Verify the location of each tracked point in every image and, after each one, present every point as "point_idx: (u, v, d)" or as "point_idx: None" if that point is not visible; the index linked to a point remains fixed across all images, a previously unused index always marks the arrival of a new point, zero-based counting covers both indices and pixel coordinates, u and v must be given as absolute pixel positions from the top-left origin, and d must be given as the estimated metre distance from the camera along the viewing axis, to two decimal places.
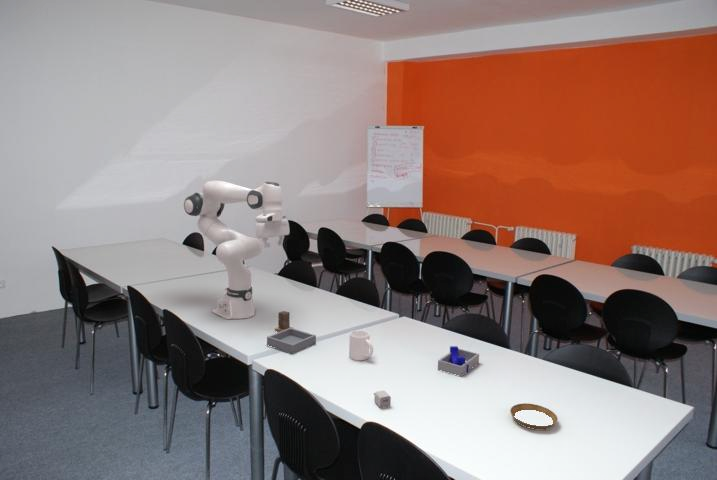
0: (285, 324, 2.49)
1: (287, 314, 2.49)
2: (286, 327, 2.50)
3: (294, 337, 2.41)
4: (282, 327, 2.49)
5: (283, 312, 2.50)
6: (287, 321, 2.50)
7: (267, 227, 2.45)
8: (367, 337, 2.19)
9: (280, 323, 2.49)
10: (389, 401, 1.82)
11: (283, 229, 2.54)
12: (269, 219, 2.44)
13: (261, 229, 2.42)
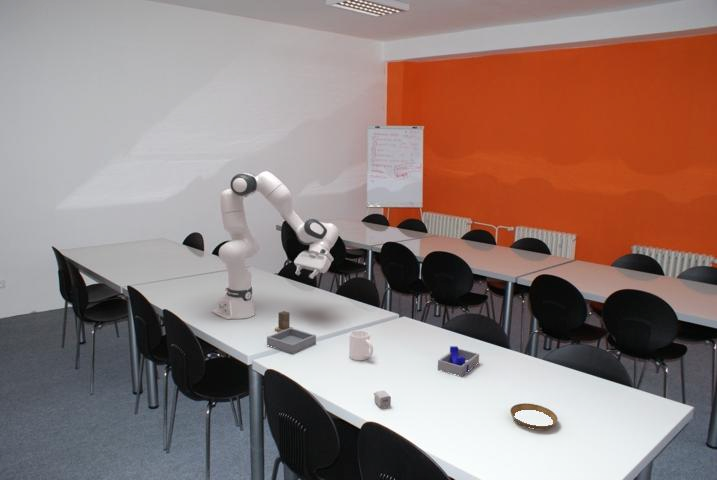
0: (285, 324, 2.49)
1: (287, 314, 2.49)
2: (286, 327, 2.50)
3: (294, 337, 2.41)
4: (282, 327, 2.49)
5: (283, 312, 2.50)
6: (287, 321, 2.50)
7: None
8: (367, 337, 2.19)
9: (280, 323, 2.49)
10: (389, 401, 1.82)
11: None
12: None
13: (328, 266, 2.54)
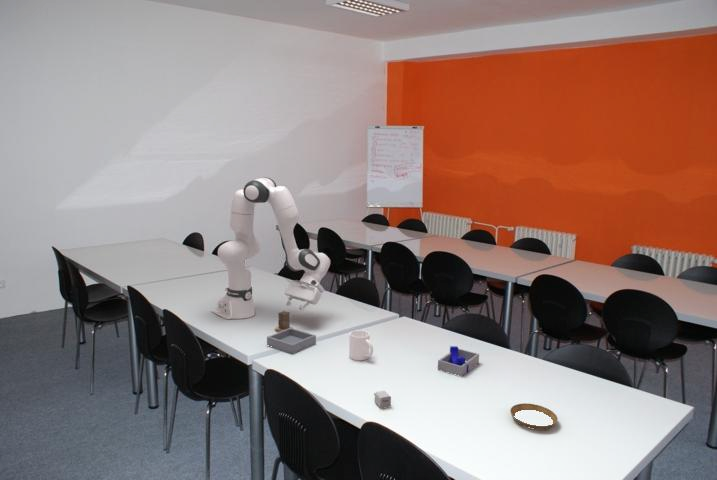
0: (285, 324, 2.49)
1: (287, 314, 2.49)
2: (286, 327, 2.50)
3: (294, 337, 2.41)
4: (282, 327, 2.49)
5: (283, 312, 2.50)
6: (287, 321, 2.50)
7: None
8: (367, 337, 2.19)
9: (280, 323, 2.49)
10: (389, 401, 1.82)
11: None
12: None
13: (319, 297, 2.53)
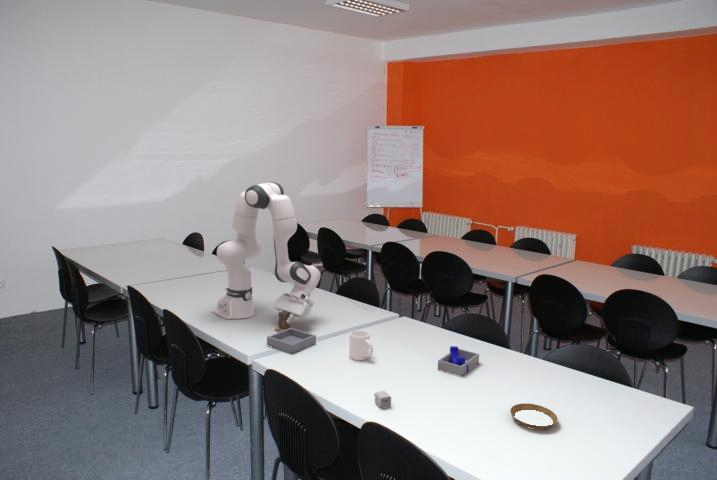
0: (285, 324, 2.49)
1: (287, 314, 2.49)
2: (286, 327, 2.50)
3: (294, 337, 2.41)
4: (282, 327, 2.49)
5: (283, 312, 2.50)
6: None
7: None
8: (367, 337, 2.19)
9: (280, 323, 2.49)
10: (389, 401, 1.82)
11: None
12: None
13: (308, 312, 2.48)
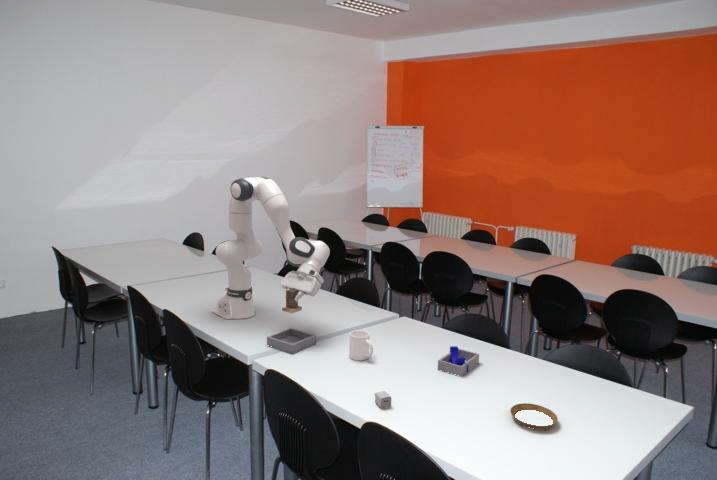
0: (293, 303, 2.31)
1: (295, 292, 2.32)
2: (294, 306, 2.32)
3: (294, 337, 2.41)
4: (290, 306, 2.32)
5: (291, 290, 2.32)
6: None
7: None
8: (367, 337, 2.19)
9: (288, 302, 2.32)
10: (390, 402, 1.82)
11: None
12: None
13: (318, 289, 2.31)
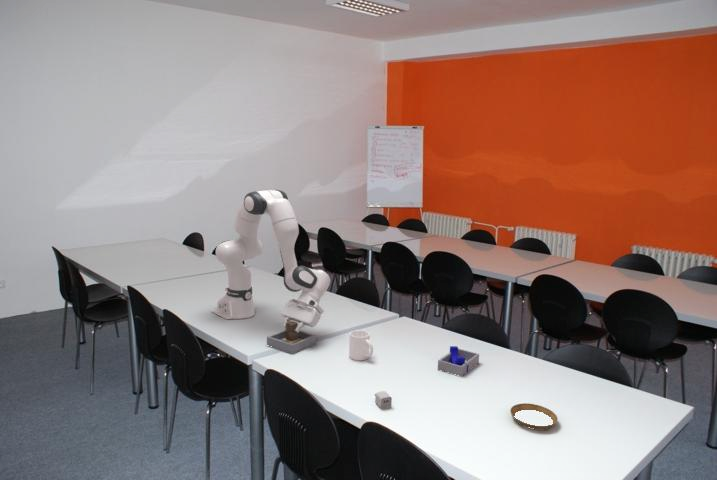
0: (292, 335, 2.32)
1: (295, 325, 2.32)
2: (294, 338, 2.33)
3: None
4: (289, 338, 2.32)
5: (291, 322, 2.33)
6: (295, 332, 2.33)
7: None
8: (367, 337, 2.19)
9: (288, 334, 2.33)
10: (390, 402, 1.82)
11: None
12: None
13: (318, 319, 2.31)
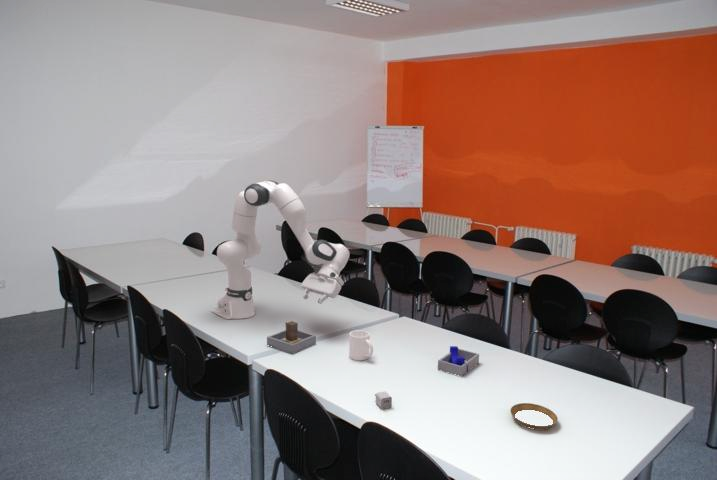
0: (292, 335, 2.32)
1: (295, 325, 2.32)
2: (294, 338, 2.33)
3: None
4: (289, 338, 2.32)
5: (291, 322, 2.33)
6: (295, 332, 2.33)
7: None
8: (367, 337, 2.19)
9: (288, 334, 2.33)
10: (390, 402, 1.82)
11: None
12: None
13: (339, 291, 2.39)
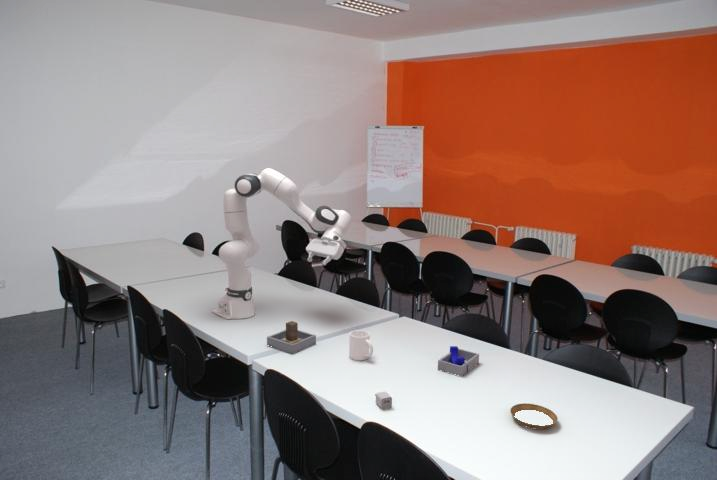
0: (292, 335, 2.32)
1: (295, 325, 2.32)
2: (294, 338, 2.33)
3: None
4: (289, 338, 2.32)
5: (291, 322, 2.33)
6: (295, 332, 2.33)
7: None
8: (367, 337, 2.19)
9: (288, 334, 2.33)
10: (390, 402, 1.82)
11: None
12: None
13: (341, 253, 2.51)
